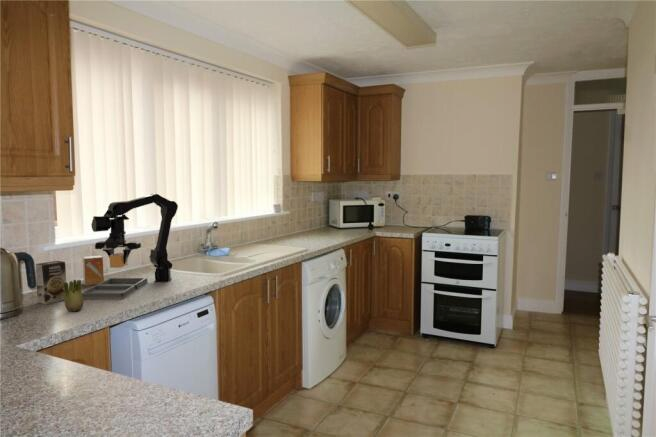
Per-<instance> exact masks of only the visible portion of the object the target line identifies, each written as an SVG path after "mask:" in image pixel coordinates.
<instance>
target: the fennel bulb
mask: <svg viewBox="0 0 656 437" xmlns="http://www.w3.org/2000/svg"><path fill="white" fill-rule="evenodd" d="M81 288H82V280H81V279H73V280H70V281H69V282H68V281H66V282H64V289H65V300H64V305H65V309H66V311H67V312H79V311H81V309H82V308H83V306H84V299H83V297H82V293H81V292H82V289H81Z"/></svg>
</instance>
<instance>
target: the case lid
mask: <svg viewBox="0 0 656 437" xmlns="http://www.w3.org/2000/svg"><path fill="white" fill-rule="evenodd" d="M136 291H137V290H136V285H97V286H96V285H92V286H91V287H89V288H87V289H86V290H84V291H81V293H82V297H83V300H124V299H125V298H127V297H129V296H130V295H131V294H133V293H134V292H136Z"/></svg>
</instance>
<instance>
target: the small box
mask: <svg viewBox="0 0 656 437" xmlns="http://www.w3.org/2000/svg"><path fill="white" fill-rule="evenodd" d="M82 272H83V273H82V274H83V284H84V286H86V287H87V286H96V285H97V284H99V283H101V282H103V281H105V280H104V277H105V276H104V257H103V256H102V255H89V256H82Z"/></svg>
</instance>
